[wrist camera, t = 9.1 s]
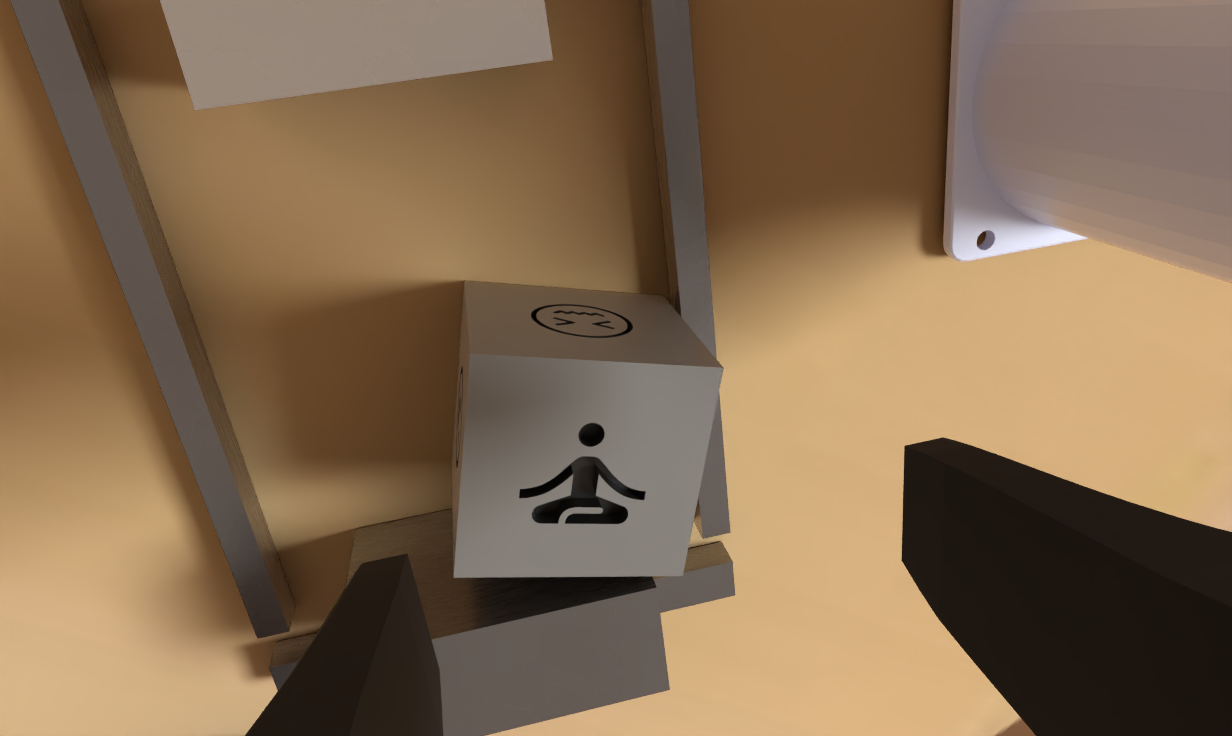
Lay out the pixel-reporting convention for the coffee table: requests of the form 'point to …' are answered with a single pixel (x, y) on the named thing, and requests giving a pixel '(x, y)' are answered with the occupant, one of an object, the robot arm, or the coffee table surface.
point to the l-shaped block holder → (344, 43)
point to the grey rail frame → (453, 607)
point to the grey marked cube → (577, 433)
